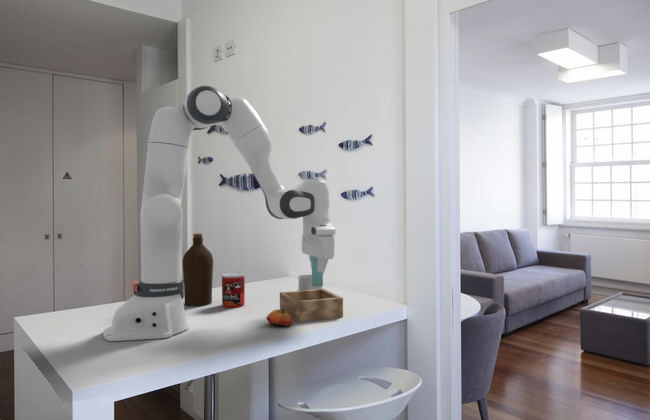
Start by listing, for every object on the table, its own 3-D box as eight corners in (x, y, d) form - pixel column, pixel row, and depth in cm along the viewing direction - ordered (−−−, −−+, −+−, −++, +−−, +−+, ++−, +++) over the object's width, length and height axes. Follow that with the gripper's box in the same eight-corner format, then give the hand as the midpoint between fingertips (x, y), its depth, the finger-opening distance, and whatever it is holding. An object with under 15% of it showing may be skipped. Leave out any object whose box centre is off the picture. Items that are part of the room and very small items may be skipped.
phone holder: (297, 290, 190) (297, 246, 190) (321, 289, 193) (321, 245, 192) (305, 299, 174) (305, 251, 173) (331, 298, 176) (331, 250, 175)
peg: (314, 286, 151) (313, 250, 151) (310, 284, 155) (309, 248, 154) (324, 285, 153) (324, 249, 152) (320, 283, 156) (319, 248, 156)
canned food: (218, 307, 161) (218, 275, 161) (228, 302, 169) (228, 272, 169) (238, 308, 159) (238, 276, 159) (248, 303, 167) (247, 272, 167)
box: (295, 321, 143) (295, 302, 142) (279, 310, 157) (279, 292, 157) (343, 316, 149) (343, 297, 149) (323, 305, 163) (323, 288, 163)
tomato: (285, 325, 133) (273, 304, 136) (269, 339, 135) (257, 318, 138) (300, 323, 140) (288, 303, 143) (284, 336, 142) (272, 316, 145)
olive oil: (219, 301, 170) (219, 233, 169) (200, 308, 160) (200, 235, 160) (196, 299, 174) (195, 232, 174) (176, 305, 165) (175, 234, 164)
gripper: (296, 226, 161) (297, 266, 162) (319, 230, 142) (319, 275, 143) (313, 225, 164) (314, 265, 164) (337, 229, 145) (338, 274, 145)
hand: (316, 270), depth 153 cm, fingers closed on peg, 4 cm apart
